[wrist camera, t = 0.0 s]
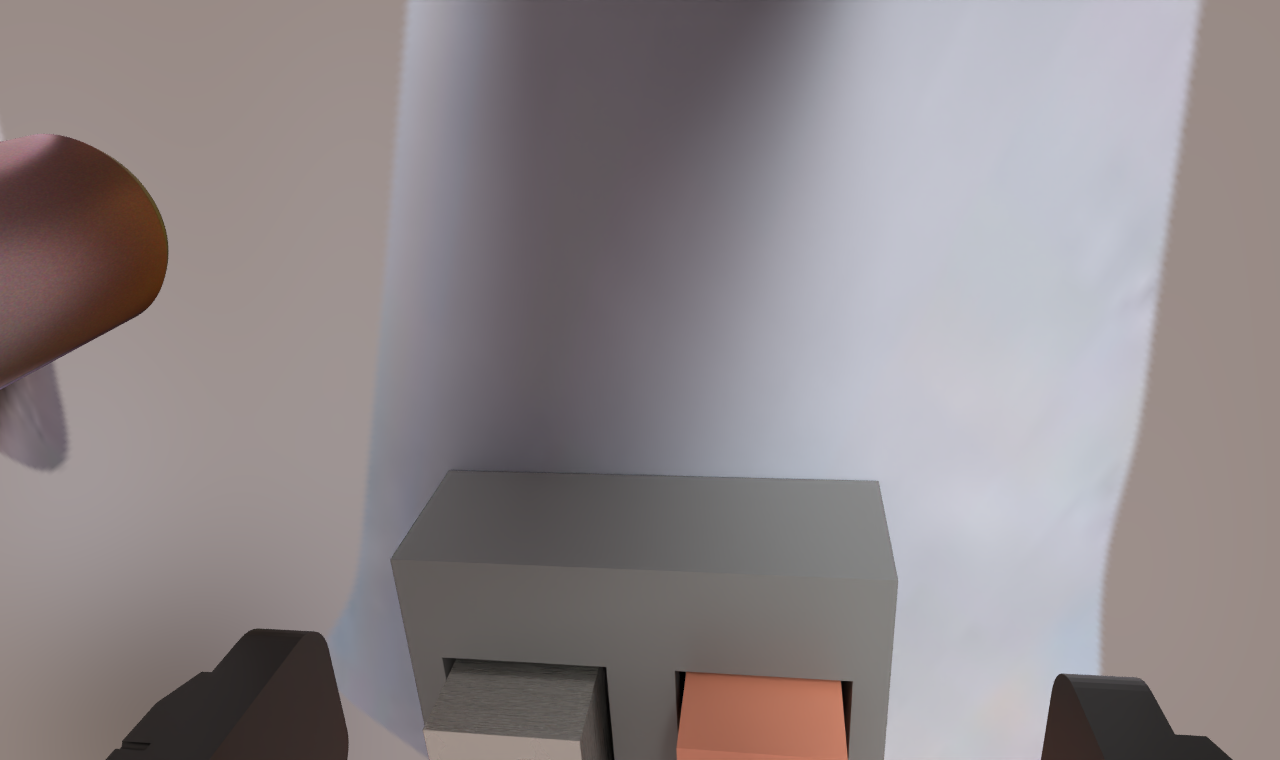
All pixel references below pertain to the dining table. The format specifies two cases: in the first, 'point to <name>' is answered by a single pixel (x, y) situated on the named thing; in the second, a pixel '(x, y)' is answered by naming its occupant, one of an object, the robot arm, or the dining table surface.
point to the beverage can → (70, 249)
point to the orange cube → (760, 718)
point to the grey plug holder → (656, 588)
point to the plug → (521, 713)
